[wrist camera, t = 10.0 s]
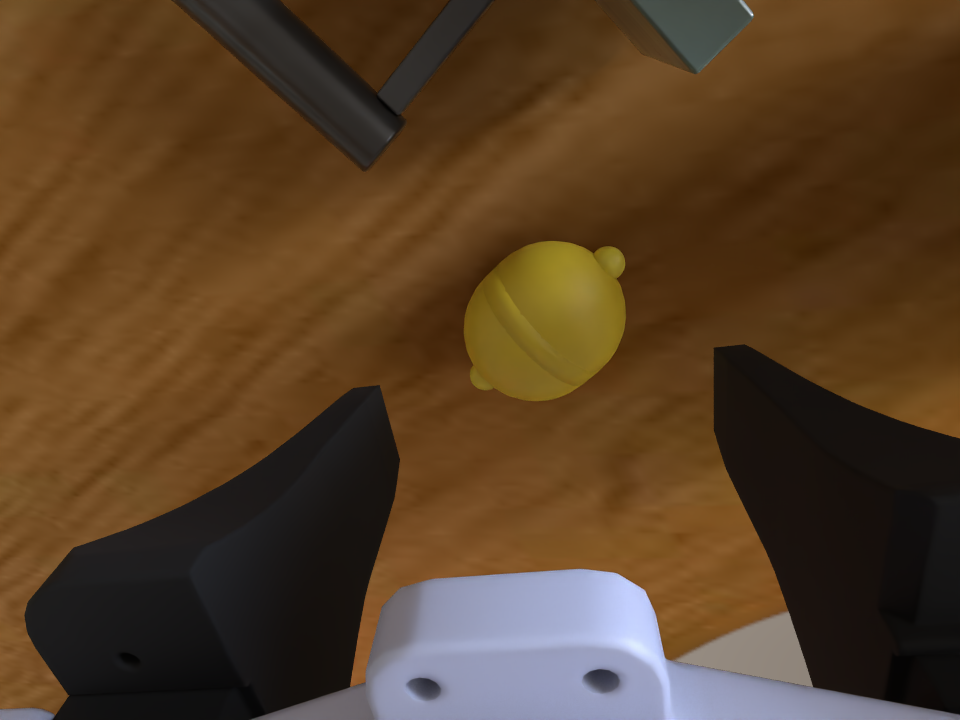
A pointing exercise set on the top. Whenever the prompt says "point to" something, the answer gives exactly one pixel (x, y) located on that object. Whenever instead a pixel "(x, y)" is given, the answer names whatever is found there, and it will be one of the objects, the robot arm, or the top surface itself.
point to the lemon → (545, 320)
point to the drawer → (426, 57)
